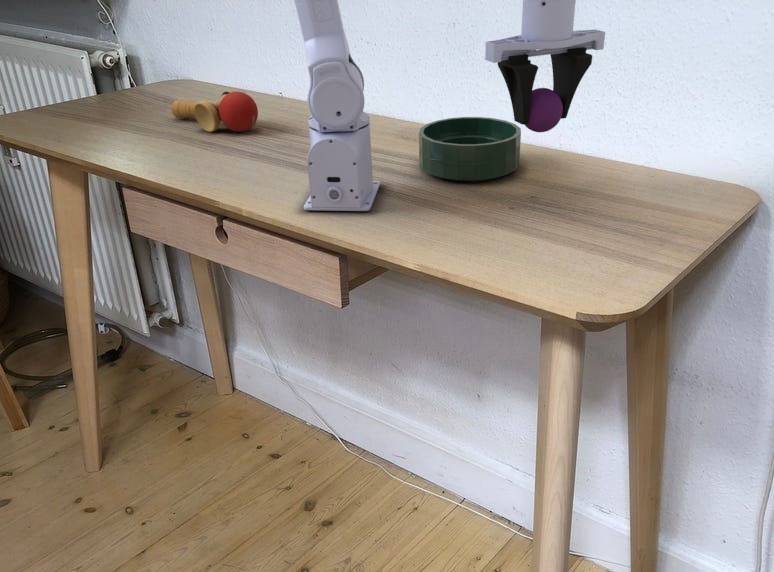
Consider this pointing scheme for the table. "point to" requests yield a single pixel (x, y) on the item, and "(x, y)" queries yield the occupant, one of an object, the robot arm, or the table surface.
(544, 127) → the ball
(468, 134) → the bowl
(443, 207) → the table surface
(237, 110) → the kendama
